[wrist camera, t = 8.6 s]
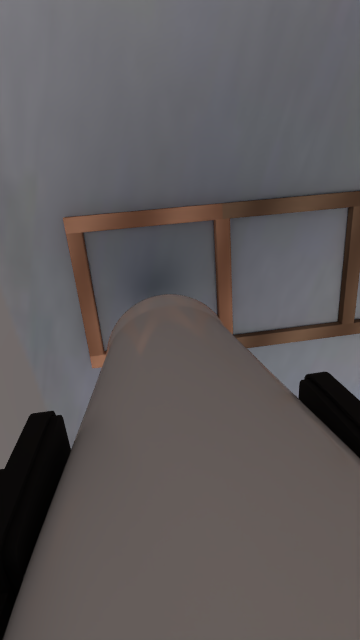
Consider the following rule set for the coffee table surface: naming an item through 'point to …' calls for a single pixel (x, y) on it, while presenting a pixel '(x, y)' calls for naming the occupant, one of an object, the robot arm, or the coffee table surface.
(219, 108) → the coffee table surface
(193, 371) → the drinking glass
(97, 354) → the copper window frame
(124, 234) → the coffee table surface
